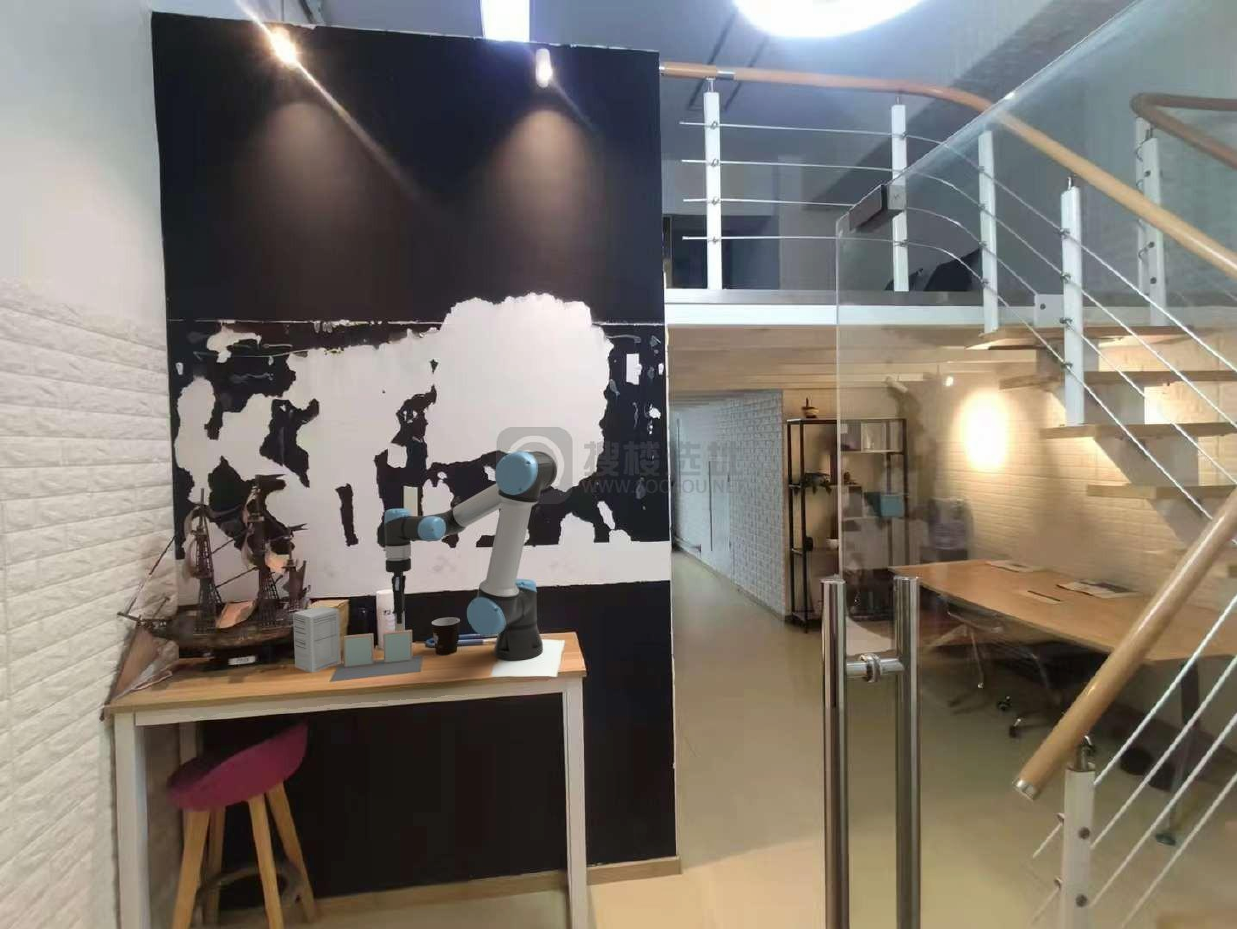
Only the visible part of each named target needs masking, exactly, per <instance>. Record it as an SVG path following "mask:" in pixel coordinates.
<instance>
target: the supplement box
mask: <svg viewBox="0 0 1237 929" xmlns="http://www.w3.org/2000/svg"><path fill="white" fill-rule="evenodd" d="M292 619H293V623H292V624H293V643H294V644H293V646H294V667H295V669H299V670H301V671H305V672H307V673H310V674H313V673H316V672H319V671H323V670H325V669H328V668H331V667H334V666H338V665H339V664H342V658H341V657H342V656H341V655H342V654H341V653H342V652H341V651H342V650H341V630H340V628H341V626H340V610H339V609H338V608H334V607H330V606H326V605H319V606H314V607H311V608H308V609H303V610H299V611H296V612H293V613H292Z"/></svg>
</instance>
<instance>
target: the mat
mask: <svg viewBox="0 0 1237 929" xmlns="http://www.w3.org/2000/svg"><path fill="white" fill-rule="evenodd" d="M412 656H413V659H412V661H404V662H394V663H384V658H383V659H382V658H381V659H374V664H373V665H365V666H355V667H346V668H344V662H343V663H340V664H337V667H336V669H335V671H334V673H333V674H332V676H331V678H330V680H329V682H340V681H351V680H359V679H367V678H368V679H369V678H376V677H377V678H378V677H385V676H395V675H405V674H413V673H414V674H415V673H421V671H422V665H423V660H424V655H423V654H422V655H412Z"/></svg>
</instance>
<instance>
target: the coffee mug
mask: <svg viewBox="0 0 1237 929" xmlns="http://www.w3.org/2000/svg"><path fill="white" fill-rule="evenodd" d="M460 622H461V619H460V618H459V617H449V616H448V617H442V618H437V619H435V620H434V619H433V621H431V628H432V634H433V636H432V637H433V642H434V648H435V649H434V650H435V654H436V655H438V656H448V655H452V654H455V653H457V651H458V646H459V645H458V643H459V641H460Z"/></svg>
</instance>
